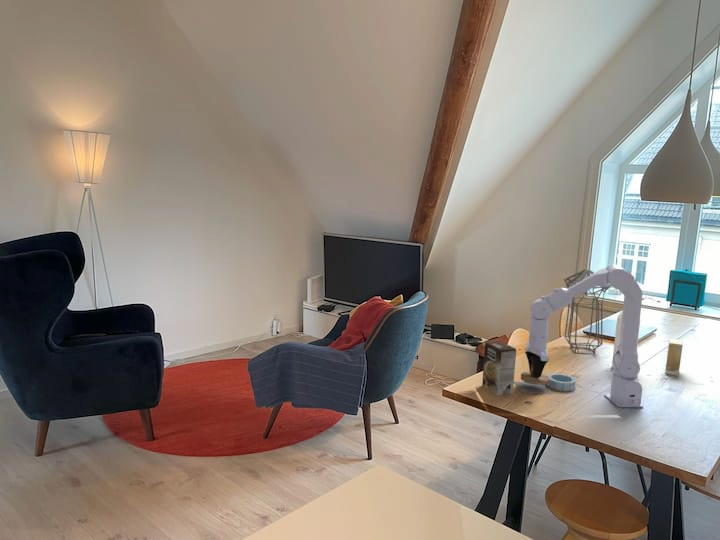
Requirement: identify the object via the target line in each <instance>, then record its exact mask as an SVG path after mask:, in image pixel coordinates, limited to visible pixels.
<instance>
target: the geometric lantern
mask: <svg viewBox="0 0 720 540" xmlns="http://www.w3.org/2000/svg"><path fill="white" fill-rule="evenodd" d="M594 273H595V272H594V271H592V270H591V269H583V270H581V271H579V272H576V273H574V274H572V275H570V276H568V277H566V278H564V279H563V281H564V283H565V285H566V289H568V288H570V287H571V286H573V285H575V284H576V283H578V282H580V281H582V280H583V279H585V278H587V277H588V276H590V275H592V274H594ZM607 285H608V287H600V286H596V287H594V288H592V292H591V290H588V293H587V291H585V292H583V293H582V294H584V295H583V297H573V299H572V302H571V303H570V304H568V305H567V306H568V307H567V313H566V314H567V315H566V323H565V330H564V335H563V336H564V338H565V340H566V342H567V343H568V345H569V348H570V350H572V351H573V353H575V354H578V355H579V354H583V355H584V354H585V355H596V351H597V349H598V348H599V347H601V346H602V345H603V310H604V309H603V308H604V307H603V304H604V297H605V293H606V292H607V290H608V289H610V288H611V287H612V286H611V285H610V284H609V283H607ZM612 288H613V287H612ZM595 289H599V290H596V291H595ZM597 293H599V294H597ZM596 294H597V295H598V296H596ZM601 294H603V295H602V301H600V300H599V298H600V296H601ZM589 295H591V297H586V296H589ZM575 299H580V300H579V301H578V302H576V301H575ZM585 299H586V300H587V299H588V300H590V299H591V300H592V303H585V305H587V306H589V305H591V315H590V327H589V335H577V334H578V332H577V331H578V311H579V310H578V309H579V305H584V303H582V302H581V301H582V300H585ZM580 302H581V303H580ZM594 306H595V336H592V327H593V318H594V317H593V316H594ZM570 307H571V308H570ZM575 307H576V309H575ZM574 313H575V327H574V328H575V329H574V331H575V332H574V333H575V334H574V335H572V330H573V322H574ZM569 315H570V317H569ZM568 322H569V323H568ZM571 338H574V342H572V339H571ZM577 338H588V339H587V341H586V342H577ZM591 338H593V340H592V341H590V340H591ZM595 340H597V344H592V343H594V341H595ZM591 347H592V348H591ZM582 349H583V350H585V351H586V350H587V351H591V353H589V352H579V350H582Z"/></svg>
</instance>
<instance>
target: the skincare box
mask: <svg viewBox="0 0 720 540" xmlns="http://www.w3.org/2000/svg"><path fill="white" fill-rule="evenodd" d="M683 343H684V342H683V340H681V339H673V338H669V339H668V345H667V346H668V347H667V356H666V363H665V369H664V370H665V375H671V376H677V377H678V376H679V375H680V368H681V360H682V354H683V353H682V352H683Z"/></svg>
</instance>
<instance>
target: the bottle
mask: <svg viewBox="0 0 720 540" xmlns="http://www.w3.org/2000/svg"><path fill="white" fill-rule="evenodd" d="M618 313H619V314H618V316H617V318H616V325H615V335H614V345H613V355H612V357H613V356H614V354H615V353H616V352H617V347H618V345H619V342H620V333H621V323H622V314H623V310H622V311H620V312H618ZM640 325H641V321H640V322H639V328H641V327H640ZM639 334H640V330H639V331H638V337H639ZM638 344H639V339H638V340H637V346H638ZM615 367H616V366H615V364H614V363H613V359H612V360H611V368H612V370H614V369H615Z"/></svg>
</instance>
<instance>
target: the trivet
mask: <svg viewBox="0 0 720 540" xmlns="http://www.w3.org/2000/svg"><path fill="white" fill-rule="evenodd" d="M513 385H515V386H516V388H518V390H519V392H521V394H530V395H531V394H535V395H536V394H539V395H541V394H542V395H543V394H545V395H552V394H553V392H552V391H551V390H550V389H549V387H548V386H547V385H546V384H544V385H536V384H530V383H527V382H524V381H514V384H513Z"/></svg>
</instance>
